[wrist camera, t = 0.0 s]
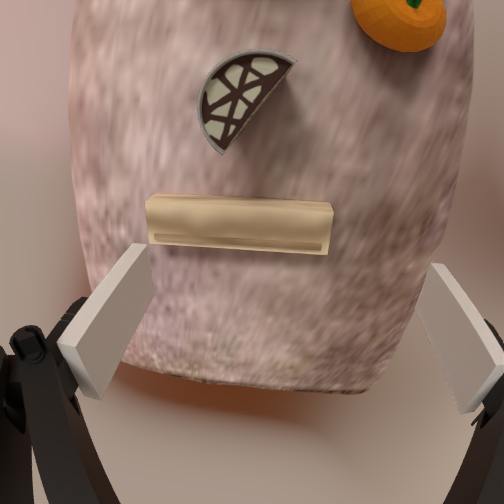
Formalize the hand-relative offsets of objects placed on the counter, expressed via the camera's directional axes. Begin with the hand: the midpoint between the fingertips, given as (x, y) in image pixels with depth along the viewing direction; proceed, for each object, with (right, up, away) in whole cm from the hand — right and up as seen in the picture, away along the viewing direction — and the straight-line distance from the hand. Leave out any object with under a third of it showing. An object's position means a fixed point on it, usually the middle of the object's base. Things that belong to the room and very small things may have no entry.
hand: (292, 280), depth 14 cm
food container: (-3, +21, +21) cm, 30 cm away
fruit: (+15, +31, +14) cm, 38 cm away
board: (-4, +6, +29) cm, 30 cm away
